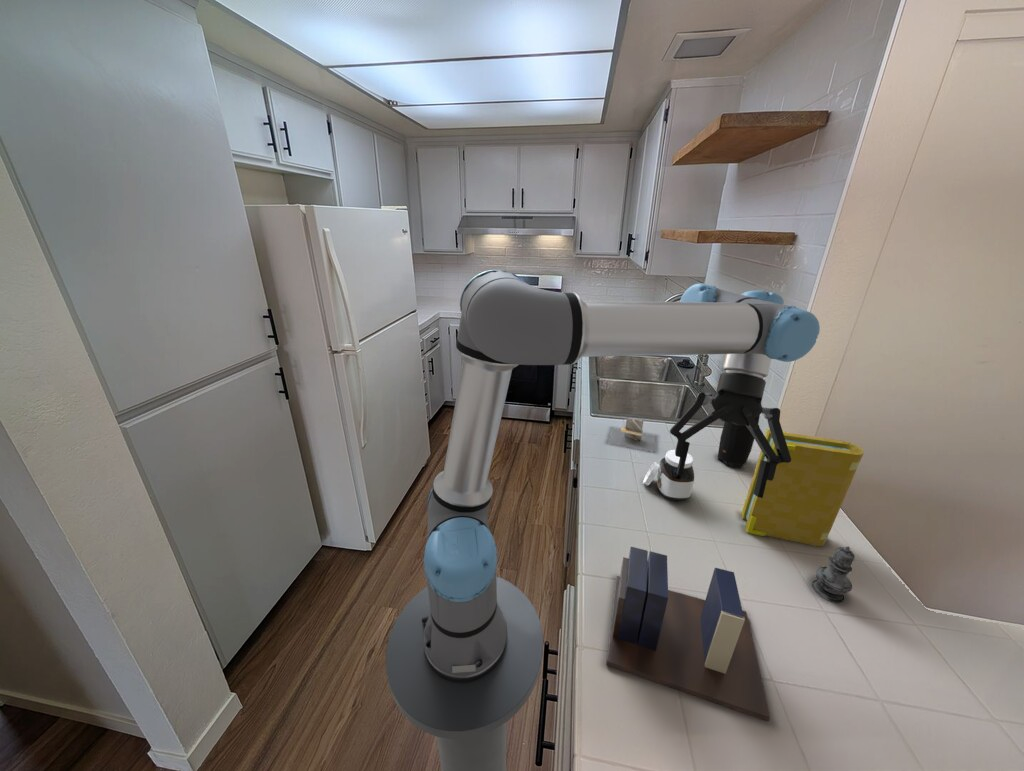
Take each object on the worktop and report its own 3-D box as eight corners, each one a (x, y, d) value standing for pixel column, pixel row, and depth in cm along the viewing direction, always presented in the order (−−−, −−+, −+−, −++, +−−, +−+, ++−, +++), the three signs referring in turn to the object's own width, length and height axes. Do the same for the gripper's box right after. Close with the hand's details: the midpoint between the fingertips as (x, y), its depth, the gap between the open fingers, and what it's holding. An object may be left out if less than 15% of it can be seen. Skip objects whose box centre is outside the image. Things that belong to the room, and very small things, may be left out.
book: (746, 532, 92) (775, 443, 83) (740, 514, 98) (766, 429, 89) (829, 550, 88) (870, 457, 78) (818, 529, 94) (854, 441, 84)
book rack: (606, 664, 65) (615, 607, 59) (616, 578, 80) (624, 527, 75) (768, 721, 57) (796, 662, 52) (745, 614, 73) (764, 560, 68)
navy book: (704, 667, 63) (722, 613, 58) (699, 618, 71) (714, 567, 66) (725, 674, 63) (745, 620, 57) (718, 623, 70) (734, 572, 65)
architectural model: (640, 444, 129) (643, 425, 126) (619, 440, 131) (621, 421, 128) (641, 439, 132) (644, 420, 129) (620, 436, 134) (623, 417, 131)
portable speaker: (724, 469, 116) (739, 412, 108) (710, 452, 125) (723, 398, 117) (753, 470, 116) (770, 412, 108) (736, 453, 125) (751, 398, 117)
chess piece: (834, 608, 74) (856, 562, 70) (803, 584, 79) (822, 540, 75) (853, 598, 76) (875, 553, 72) (821, 575, 81) (841, 531, 77)
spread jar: (693, 504, 102) (702, 468, 97) (650, 503, 102) (657, 467, 97) (676, 476, 113) (683, 442, 108) (638, 476, 113) (643, 442, 108)
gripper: (811, 391, 72) (785, 501, 72) (671, 364, 79) (648, 463, 80) (831, 388, 65) (802, 511, 65) (675, 359, 72) (649, 468, 72)
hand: (717, 485), depth 72 cm, fingers open, 13 cm apart
